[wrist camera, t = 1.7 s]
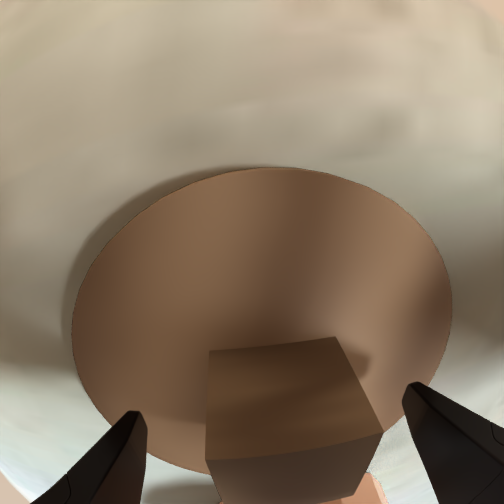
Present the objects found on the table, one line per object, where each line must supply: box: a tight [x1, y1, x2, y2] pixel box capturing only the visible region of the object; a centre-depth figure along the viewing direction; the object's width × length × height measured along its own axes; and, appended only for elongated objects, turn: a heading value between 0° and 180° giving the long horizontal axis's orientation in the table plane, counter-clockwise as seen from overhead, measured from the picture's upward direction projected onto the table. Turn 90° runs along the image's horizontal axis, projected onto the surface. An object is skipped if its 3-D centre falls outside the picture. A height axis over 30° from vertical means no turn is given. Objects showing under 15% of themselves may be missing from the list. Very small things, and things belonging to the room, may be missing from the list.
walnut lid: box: [71, 167, 452, 504], centre depth 8 cm, size 14×14×5 cm
